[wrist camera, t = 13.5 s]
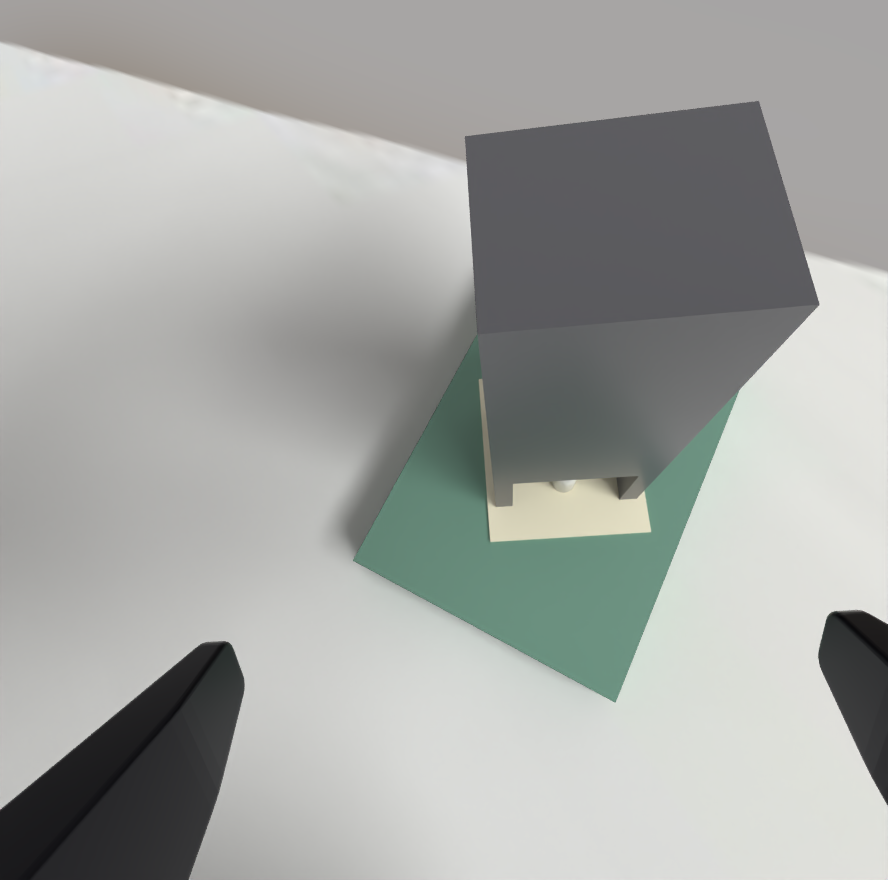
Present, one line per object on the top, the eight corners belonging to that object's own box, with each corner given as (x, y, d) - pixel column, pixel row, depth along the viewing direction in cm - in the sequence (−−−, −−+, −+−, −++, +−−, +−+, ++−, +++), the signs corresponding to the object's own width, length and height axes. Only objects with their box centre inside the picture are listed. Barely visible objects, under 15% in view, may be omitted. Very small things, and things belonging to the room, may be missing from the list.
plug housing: (636, 498, 20) (819, 304, 8) (495, 507, 20) (477, 334, 9) (620, 395, 21) (758, 101, 10) (488, 405, 22) (465, 136, 10)
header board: (607, 697, 19) (631, 712, 16) (362, 565, 22) (332, 550, 18) (741, 365, 23) (786, 312, 19) (516, 282, 25) (517, 221, 21)
